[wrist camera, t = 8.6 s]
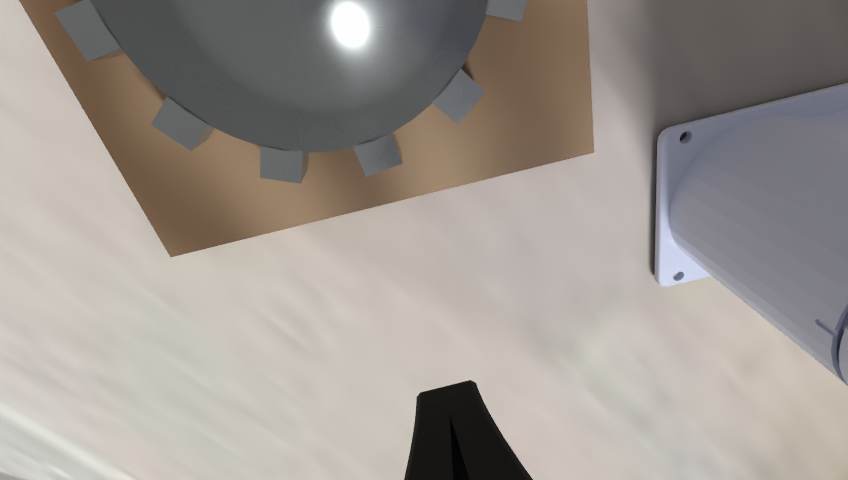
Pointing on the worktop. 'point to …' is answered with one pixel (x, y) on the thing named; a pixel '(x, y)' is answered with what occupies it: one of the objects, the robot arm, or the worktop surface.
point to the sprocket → (294, 68)
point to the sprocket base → (341, 170)
